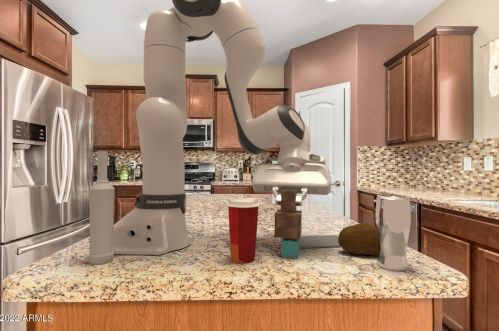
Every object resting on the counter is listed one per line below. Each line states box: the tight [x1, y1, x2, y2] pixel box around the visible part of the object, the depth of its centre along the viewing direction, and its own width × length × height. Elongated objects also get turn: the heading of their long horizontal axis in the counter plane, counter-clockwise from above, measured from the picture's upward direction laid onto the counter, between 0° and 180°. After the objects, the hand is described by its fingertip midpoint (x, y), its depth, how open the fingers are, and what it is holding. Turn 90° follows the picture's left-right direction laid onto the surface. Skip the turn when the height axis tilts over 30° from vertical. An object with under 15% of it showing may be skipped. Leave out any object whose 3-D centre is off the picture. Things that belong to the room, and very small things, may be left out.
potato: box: [338, 222, 380, 256], centre depth 73 cm, size 8×12×8 cm, turn 84°
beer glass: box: [375, 195, 412, 272], centre depth 64 cm, size 7×7×15 cm
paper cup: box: [226, 197, 261, 264], centre depth 68 cm, size 8×8×14 cm
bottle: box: [88, 150, 116, 265], centre depth 66 cm, size 5×5×25 cm
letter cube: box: [280, 238, 300, 259], centre depth 72 cm, size 4×4×4 cm
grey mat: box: [299, 234, 342, 250], centre depth 85 cm, size 16×12×1 cm
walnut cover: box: [273, 190, 303, 239], centre depth 72 cm, size 6×6×11 cm
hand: (288, 204), depth 71 cm, fingers closed on walnut cover, 3 cm apart
